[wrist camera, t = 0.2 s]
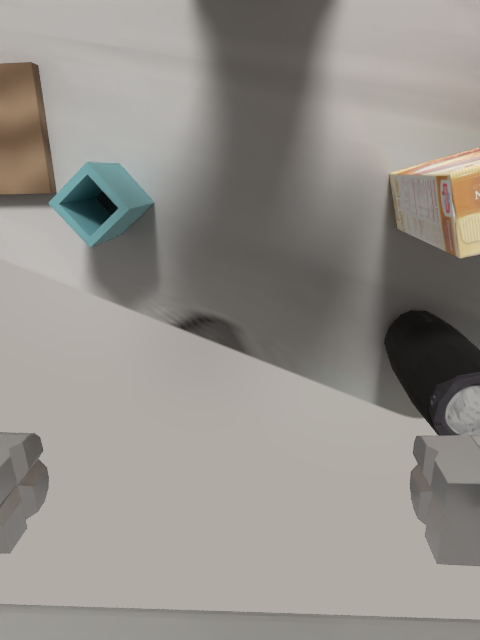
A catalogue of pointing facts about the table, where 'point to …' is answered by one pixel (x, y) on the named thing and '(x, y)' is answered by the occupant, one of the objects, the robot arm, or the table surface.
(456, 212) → the coffeecake box
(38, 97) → the walnut plate
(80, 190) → the teal sleeve
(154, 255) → the table surface
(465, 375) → the portable speaker
